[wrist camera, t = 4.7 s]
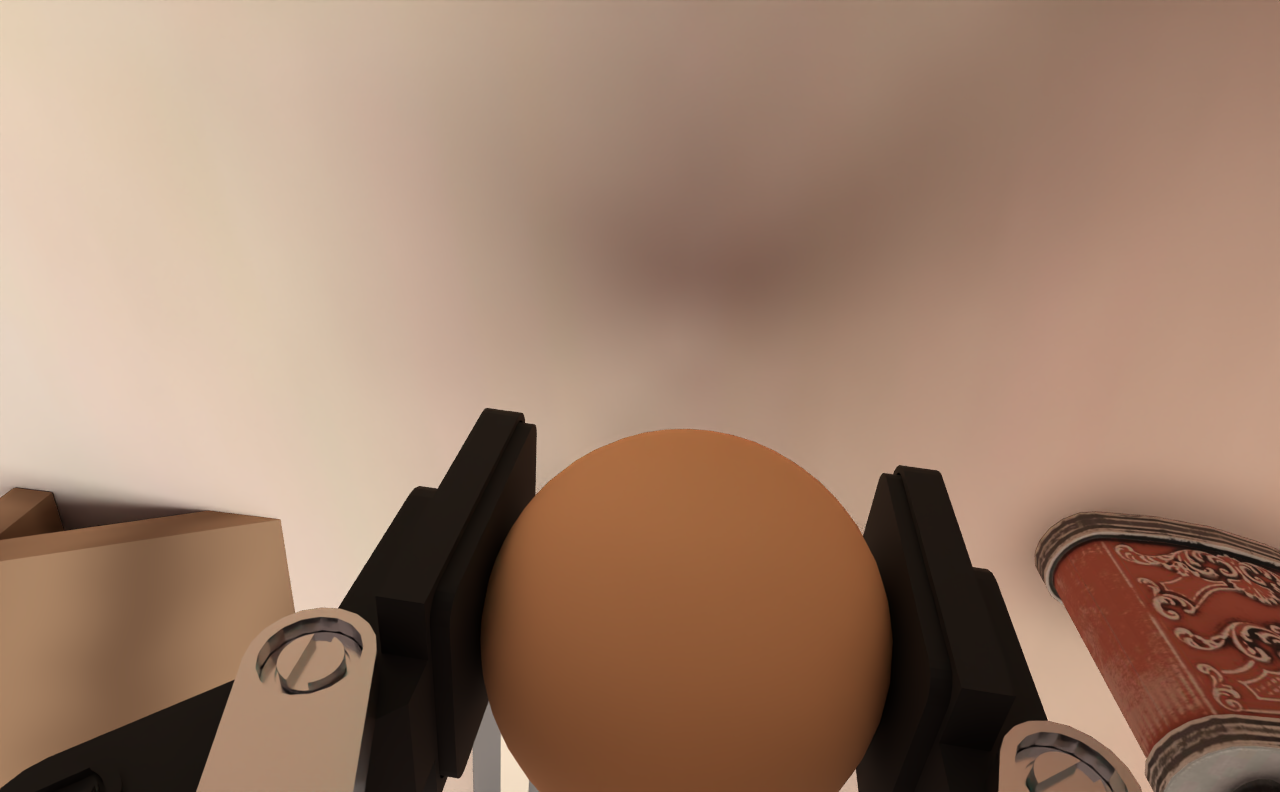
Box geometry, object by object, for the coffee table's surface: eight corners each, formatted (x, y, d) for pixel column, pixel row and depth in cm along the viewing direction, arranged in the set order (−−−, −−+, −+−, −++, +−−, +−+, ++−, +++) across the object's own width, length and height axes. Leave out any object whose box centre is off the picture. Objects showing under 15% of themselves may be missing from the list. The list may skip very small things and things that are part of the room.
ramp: (294, 502, 25) (205, 615, 21) (331, 757, 31) (268, 888, 27) (26, 469, 26) (-118, 574, 21) (111, 727, 31) (12, 852, 27)
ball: (903, 386, 11) (999, 681, 7) (829, 649, 13) (862, 987, 9) (538, 338, 11) (401, 588, 7) (533, 603, 14) (429, 908, 9)
